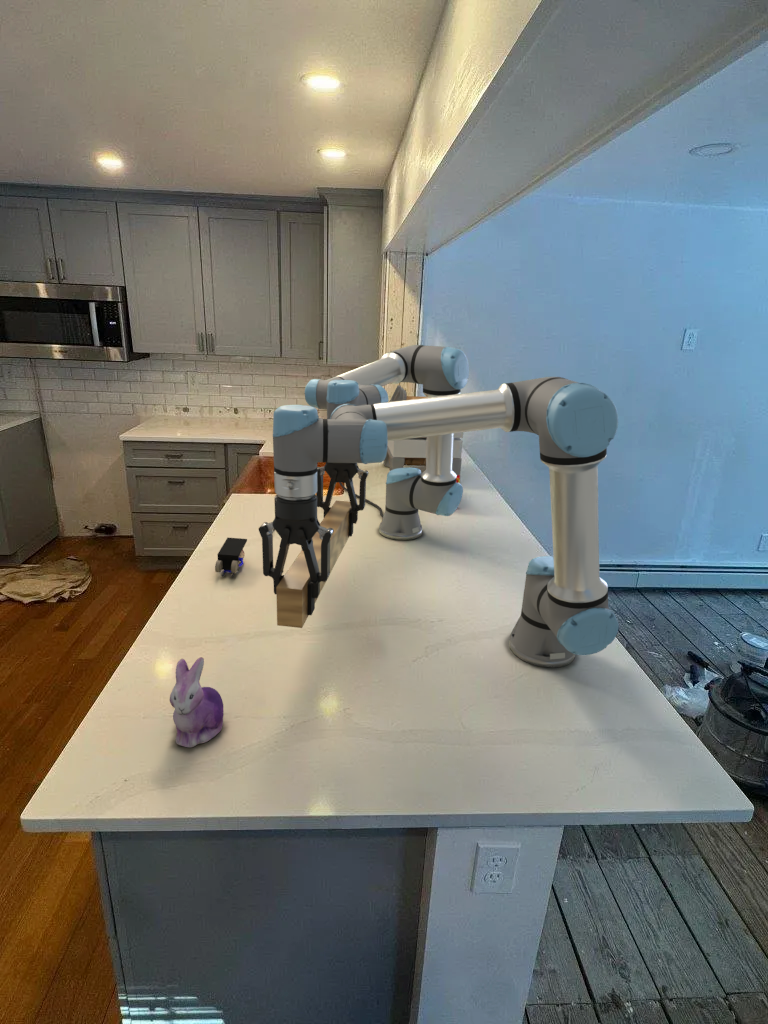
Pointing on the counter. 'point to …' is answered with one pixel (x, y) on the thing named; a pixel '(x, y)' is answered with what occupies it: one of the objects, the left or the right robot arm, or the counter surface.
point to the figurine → (195, 706)
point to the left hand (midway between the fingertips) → (340, 533)
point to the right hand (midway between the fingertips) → (297, 610)
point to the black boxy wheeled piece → (230, 556)
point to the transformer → (416, 445)
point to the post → (298, 576)
